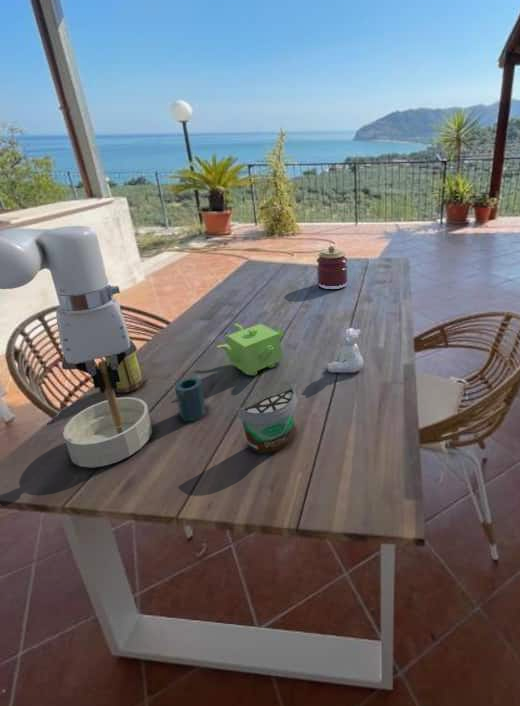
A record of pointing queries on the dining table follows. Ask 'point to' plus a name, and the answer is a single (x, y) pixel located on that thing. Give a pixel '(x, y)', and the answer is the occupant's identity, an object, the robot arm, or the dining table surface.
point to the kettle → (253, 348)
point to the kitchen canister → (332, 267)
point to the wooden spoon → (110, 395)
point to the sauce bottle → (128, 374)
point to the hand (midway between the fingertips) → (108, 387)
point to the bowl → (107, 433)
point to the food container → (269, 422)
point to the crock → (190, 399)
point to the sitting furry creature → (348, 354)
